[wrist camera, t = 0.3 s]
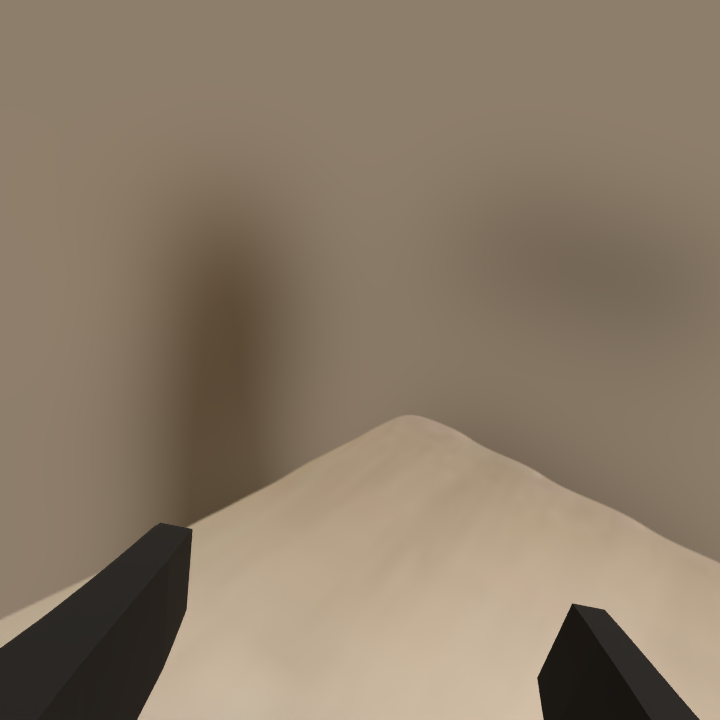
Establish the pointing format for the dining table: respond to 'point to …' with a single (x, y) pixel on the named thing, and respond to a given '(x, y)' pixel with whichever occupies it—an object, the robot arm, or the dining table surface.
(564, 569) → the dining table surface
